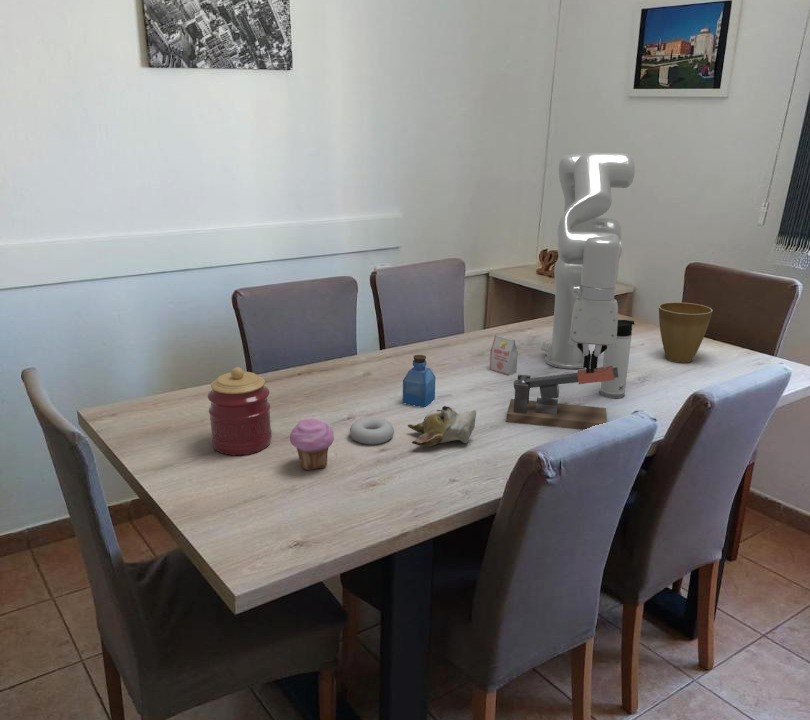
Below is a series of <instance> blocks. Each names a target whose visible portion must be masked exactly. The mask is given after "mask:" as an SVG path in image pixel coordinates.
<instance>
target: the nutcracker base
mask: <svg viewBox="0 0 810 720" xmlns="http://www.w3.org/2000/svg"><path fill="white" fill-rule="evenodd" d="M522 376H525V377H527V378H528V379H529V378H532V377H531V375H527V374H518V375H517V380H519V378H520V377H522ZM530 392H531V388H528V385H527V384H517V383H516V384H515V389H514V398H510V401H509V403H508V404H509V405H508V408H507V412H506V416H505V417H506V418H505V419H506V421H505V422H508V423H516V424H517V423H518V424H526V425H533V426H534V425H535V426H546V427H554V428H555V427H556V428H562V429H563V428H564V429H572V430H574V429H575V430H583V429H587V428H590V427H592V426H595V425H599V424H603V423H606V422H607V423H608V418H607V417H608V416H607V413H608V411H607V407H600V406H592V405H591V406H588V405H579V404H578V405H577V404H570V403H569V404H568V403H559V399H558V398H553V399H545V400H542V399H541V397H540V396H539V397H536V400H530Z"/></svg>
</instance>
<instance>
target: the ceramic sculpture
mask: <svg viewBox="0 0 810 720" xmlns="http://www.w3.org/2000/svg"><path fill="white" fill-rule="evenodd" d="M476 418H477V410H469V411H464V412H461V413H458V412H456V411H455V409H454V408H451V407H450V406H446V405H444V406H442V408H441V409H437V410H431V411H430V412H429V413H427V414H426V415H425V417H424V418H423V421H422V422H418V423H417V424H407V427H408V428H409V429H412V431H415V432H417V433H420V435H419V436H418V438H416V439H414V440H412V441H411V444H413V445H417V446H420V447H425V448H426V447H431V446H435V445H437V444H444V443H448V442H453V441H457V440H458V441H460V442H462V443H463V444H466V443H468V442H469V440H470V437H471V435H472V433H473V431H474V430H475V426H476V425H475V424H476Z"/></svg>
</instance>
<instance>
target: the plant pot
mask: <svg viewBox="0 0 810 720" xmlns="http://www.w3.org/2000/svg"><path fill="white" fill-rule="evenodd" d="M712 314H713V309H712V308H711V307H709V306H707V305H704V304H698V303H691V302H690V303H689V302H674V301H673V302H663V303H661V304H659V305H658V319H659V320H658V321H659V322H658V323H659V330H660V338H661V343H662V347H663V351H664V354H665V358H666V359H667V360H668V361H671V362H673V363H674V362H675V363H681V364H684V363H691V362H692V361H693V359H694V358H695V356H696V355H697V354H698V353H697V352H698V350H699V348H700V347H701V345H702V343H703V340H704V338H705V335H706V332H707V330H708V328H709V324H710V322H711V318H712Z"/></svg>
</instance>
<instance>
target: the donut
mask: <svg viewBox="0 0 810 720" xmlns="http://www.w3.org/2000/svg"><path fill="white" fill-rule="evenodd" d="M394 428H395V427H394V426H393V424H392V423H391V422H389V421H388V420H386V419H384V418H380V417H364V418H360V419H357V420H355V421H354V422H353V423H352V424H351V425H350V427H349V435H350V438H352V439H353V440H354V441H356V442H357V443H359V444H364V445H380V444H384V443H385V442H388V441H390V440H391V439H392V437H393V435H394V433H395V429H394Z"/></svg>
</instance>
